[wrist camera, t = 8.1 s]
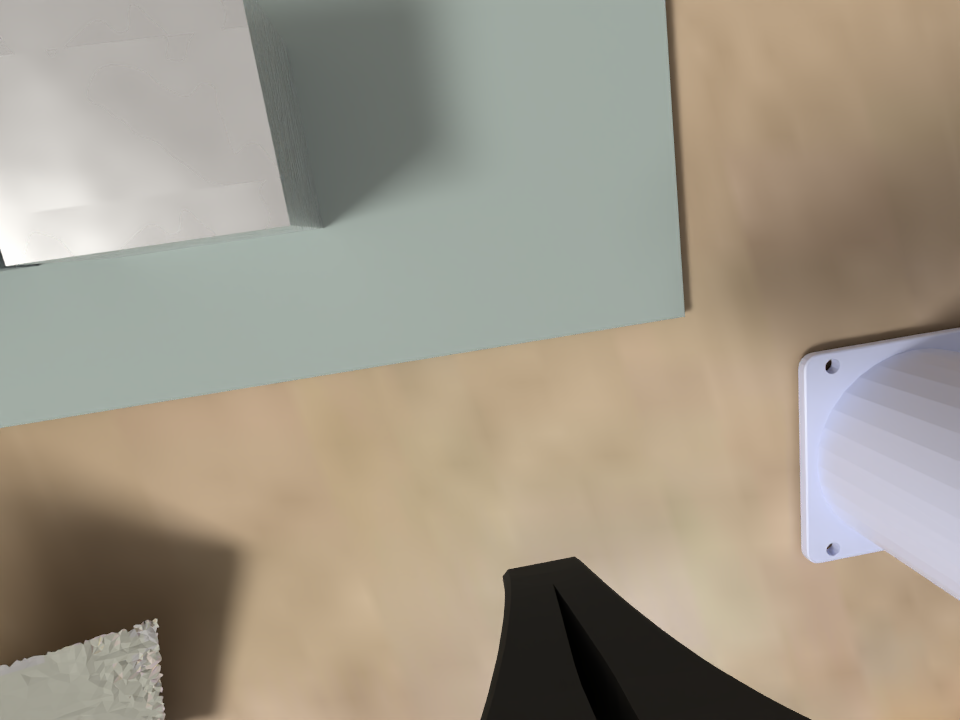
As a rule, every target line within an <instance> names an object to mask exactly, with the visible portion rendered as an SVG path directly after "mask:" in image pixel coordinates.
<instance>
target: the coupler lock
mask: <svg viewBox="0 0 960 720" xmlns="http://www.w3.org/2000/svg"><path fill="white" fill-rule="evenodd" d="M316 229H323V224H322V219H321V214H320V209H319V204H318V199H317V194H316V189H315V184H314V179H313V174H312V169H311V164H310V159H309V154H308V149H307V144H306V139H305V134H304V129H303V124H302V119H301V114H300V109H299V104H298V99H297V94H296V89H295V84H294V79H293V73H292V68H291V63H290V58H289V53H288V48H287V45H286V43H285V42H284V40H283V39H282V37H281V36H280V35H279V33H278V32H277V30H276V29H275V27H274V26H273V24H272V23H271V21H270V20H269V18H268V17H267V16H266V14H265V13H264V11H263V10H262V8H261V7H260V5H259V4H258V2H257V1H256V0H0V250H1V253H2V256H3V259H4V262H5V265H6V266H13V265H28V264H42V263H56V262H70V261H84V260H98V259H112V258H121V257H128V256H135V255H142V254H149V253H156V252H163V251H170V250H177V249H184V248H191V247H197V246H204V245H211V244H218V243H225V242H232V241H239V240H246V239H253V238H260V237H267V236H274V235H281V234H288V233H295V232H302V231H309V230H316Z"/></svg>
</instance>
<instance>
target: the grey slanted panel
mask: <svg viewBox="0 0 960 720" xmlns="http://www.w3.org/2000/svg"><path fill="white" fill-rule="evenodd" d="M157 620H158V619H156V618H155V619H154V620H153V621H150V620H146V621H143V622H142V623H141V624H140V625H134V626H133V627H134V629H132V630H131V631H129V632H127V630H126V629H122V630H121V631H120V632H118V633H114V632H111V633H109V634H103V635H100V636H97V637H95V638H93V639H91V640H85V642H84V644H82V643H76V644H74V645H72V646H67V647H64V648H62V649H61V650H57V651H56V652H48V653H47V655H40V656H33V657H30V658H28V659H26V658H24V659H23V660H22V661H19V660H16V661H15V662H14V663H13V664H12V665H11V666H10V667H9V666H7V665H1V666H0V720H164V718H165V715H166V714H165V713H164V712H163V711H164V710H165V707H164V706H163V705H164V703H163V702H162V699H163V697H164V696H159V692H162V691H163V687H161V681H160V678H161V677H162V676H163V674H161V673H160V669H161V665H159V664H158V663H159V662H160V661H161V659H162V658H161V655H160V653H159V649H160V648H159V644H158V637H157V636H158V633H156V630H157V627H159V625H158V624H157Z"/></svg>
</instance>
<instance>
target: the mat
mask: <svg viewBox="0 0 960 720" xmlns="http://www.w3.org/2000/svg"><path fill="white" fill-rule="evenodd" d="M256 1H257V2H258V4H259V5H260V7H261V8H262V10H263V11H264V13H265V14H266V16H267V17H268V18H269V20H270V21H271V23H272V24H273V26H274V27H275V29H276V30H277V32H278V33H279V35H280V36H281V37H282V39H283V40H284V42H285V43H286V45H287V48H288V53H289V58H290V63H291V68H292V73H293V79H294V84H295V89H296V94H297V99H298V104H299V109H300V114H301V119H302V124H303V129H304V134H305V139H306V144H307V149H308V154H309V159H310V164H311V169H312V174H313V179H314V184H315V189H316V194H317V199H318V204H319V209H320V214H321V219H322V224H323V229H316V230H309V231H302V232H295V233H288V234H281V235H274V236H267V237H260V238H253V239H246V240H239V241H232V242H225V243H218V244H211V245H204V246H197V247H191V248H184V249H177V250H170V251H163V252H156V253H149V254H142V255H135V256H128V257H121V258H112V259H98V260H84V261H70V262H56V263H42V264H39V266H34V267H27V268H20V269H14V270H7V271H0V428H3V427H9V426H15V425H21V424H27V423H34V422H40V421H46V420H52V419H58V418H64V417H70V416H77V415H83V414H89V413H95V412H101V411H107V410H113V409H120V408H126V407H132V406H138V405H144V404H150V403H156V402H163V401H169V400H175V399H181V398H187V397H193V396H199V395H206V394H212V393H218V392H224V391H230V390H236V389H242V388H249V387H255V386H261V385H267V384H273V383H279V382H285V381H292V380H298V379H304V378H310V377H316V376H322V375H328V374H335V373H341V372H347V371H353V370H359V369H365V368H371V367H378V366H384V365H390V364H396V363H402V362H408V361H414V360H421V359H427V358H433V357H439V356H445V355H451V354H457V353H464V352H470V351H476V350H482V349H488V348H494V347H501V346H507V345H513V344H519V343H525V342H531V341H537V340H544V339H550V338H556V337H562V336H568V335H574V334H580V333H587V332H593V331H599V330H605V329H611V328H617V327H623V326H630V325H636V324H642V323H648V322H654V321H660V320H666V319H673V318H679V317H685V311H684V295H683V279H682V263H681V247H680V231H679V215H678V199H677V183H676V167H675V151H674V135H673V119H672V103H671V87H670V71H669V55H668V39H667V23H666V7H665V0H256Z"/></svg>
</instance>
